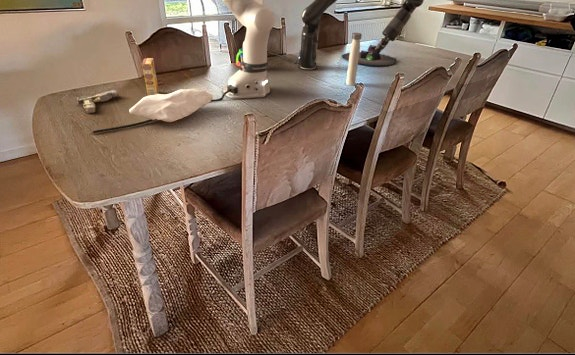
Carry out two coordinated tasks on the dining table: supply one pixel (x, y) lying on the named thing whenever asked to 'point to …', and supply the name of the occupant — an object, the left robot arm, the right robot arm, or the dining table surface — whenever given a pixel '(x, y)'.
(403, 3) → the right robot arm
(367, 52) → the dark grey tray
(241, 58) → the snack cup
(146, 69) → the candy box
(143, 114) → the crumpled cloth
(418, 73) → the dining table surface
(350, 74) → the cream tall cylinder
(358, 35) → the cap
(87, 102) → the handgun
